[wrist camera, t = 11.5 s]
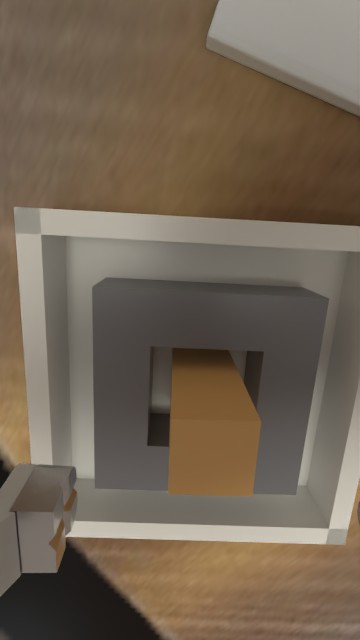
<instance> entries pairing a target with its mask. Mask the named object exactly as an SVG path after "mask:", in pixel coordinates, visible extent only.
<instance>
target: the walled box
mask: <svg viewBox="0 0 360 640" xmlns="http://www.w3.org/2000/svg"><path fill="white" fill-rule="evenodd" d="M14 218H15V232H16V247H17V261H18V276H19V290H20V305H21V319H22V334H23V348H24V363H25V377H26V392H27V406H28V421H29V435H30V450H31V464H37V465H38V464H44V465H60V466H74V467H75V468H76V475H77V479H76V482H75V485H74V487H73V488H74V489H75V490H76V491H77V510H76V515H75V520H74V523H73V526H72V530H71V532H69V533H68V534H67V535H66V536H65V537H96V538H131V539H165V540H200V541H234V542H269V543H304V544H338V545H345V540H346V536H347V531H348V527H349V522H350V518H351V513H352V509H353V504H354V500H355V495H356V491H357V486H358V482H359V477H360V226H346V225H328V224H311V223H293V222H275V221H258V220H240V219H222V218H204V217H187V216H169V215H151V214H133V213H116V212H98V211H80V210H62V209H45V208H27V207H14ZM172 348H193V349H219V350H229V352H230V354H231V356H232V358H233V361H234V363H235V365H236V367H237V369H238V372H239V374H240V376H241V378H242V380H243V383H244V385H245V387H246V389H247V391H248V394H249V396H250V398H251V400H252V402H253V404H254V407H255V409H256V411H257V413H258V415H259V418H260V420H261V428H260V436H259V445H258V453H257V462H256V470H255V479H254V487H253V496H252V497H249V496H209V495H168V472H169V433H170V396H171V371H172Z"/></svg>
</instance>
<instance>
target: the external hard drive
mask: <svg viewBox="0 0 360 640" xmlns="http://www.w3.org/2000/svg"><path fill="white" fill-rule="evenodd" d="M206 48H207V49H208V50H210V51H212V52H215V53H217V54H219V55H222V56H224V57H226V58H228V59H231V60H233V61H235V62H237V63H240V64H242V65H244V66H246V67H249V68H251V69H253V70H255V71H258V72H260V73H262V74H265V75H267V76H269V77H271V78H274V79H276V80H278V81H280V82H283V83H285V84H287V85H289V86H291V87H294V88H296V89H298V90H301V91H303V92H305V93H307V94H310V95H312V96H314V97H316V98H319V99H321V100H323V101H325V102H328V103H330V104H332V105H334V106H336V107H338V108H341V109H343V110H345V111H348V112H350V113H352V114H354V115H357V116H359V117H360V0H219V1H218V4H217V7H216V10H215V13H214V16H213V20H212V22H211V25H210V28H209V31H208V35H207V41H206Z"/></svg>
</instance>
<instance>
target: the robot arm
mask: <svg viewBox="0 0 360 640" xmlns="http://www.w3.org/2000/svg"><path fill="white" fill-rule="evenodd" d="M76 479H77V475H76V468H75V467H74V466H60V465H44V464H38V465H37V464H21V463H20V464H19V465H17V466H16V467H15V468H14V470H13V471H12V473H11V474H10V476H9V477H8V479H7V480H6V482H5V483H4V485H3V486H2V488H1V489H0V596H1V595H2V594H3V593H4V592H5V591H6V590H7V589H8V588H9V587H10V586H11V585H12V584H13V583H14V582H15V581H16V580H17V579H18V578H19V576H21V573H56V572H57V570H58V568H59V565H60V562H61V558H62V556H63V553H64V550H65V547H66V545H65V536H66V535H67V534H68V533H69V532H71V530H72V526H73V523H74V520H75V515H76V510H77V491H76V490H75V489H74V488H73V487H74V485H75V482H76ZM357 513H358V521H359V525H360V502H359V506H358V511H357Z"/></svg>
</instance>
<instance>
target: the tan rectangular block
mask: <svg viewBox="0 0 360 640" xmlns="http://www.w3.org/2000/svg"><path fill="white" fill-rule="evenodd" d="M260 428H261V420H260V418H259V415H258V413H257V411H256V409H255V407H254V404H253V402H252V400H251V398H250V396H249V394H248V391H247V389H246V387H245V385H244V383H243V380H242V378H241V376H240V374H239V372H238V369H237V367H236V365H235V363H234V361H233V358H232V356H231V354H230V352H229V350H219V349H193V348H172V371H171V396H170V433H169V472H168V495H209V496H249V497H252V496H253V487H254V479H255V470H256V462H257V453H258V445H259V436H260Z"/></svg>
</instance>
